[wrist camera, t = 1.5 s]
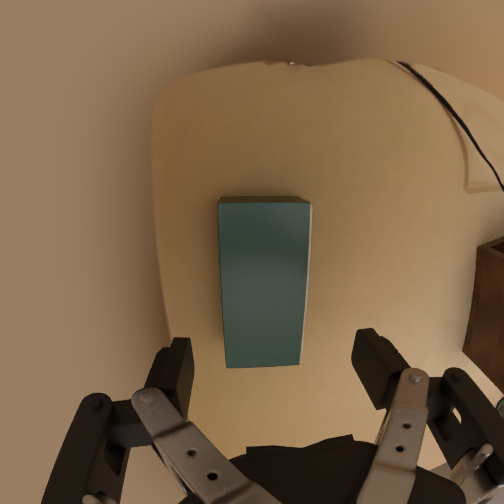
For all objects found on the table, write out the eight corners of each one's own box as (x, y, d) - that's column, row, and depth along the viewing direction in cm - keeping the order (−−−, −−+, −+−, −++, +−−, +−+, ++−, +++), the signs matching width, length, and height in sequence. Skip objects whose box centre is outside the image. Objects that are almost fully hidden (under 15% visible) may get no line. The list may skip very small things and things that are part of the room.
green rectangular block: (220, 196, 20) (217, 203, 16) (300, 196, 20) (313, 202, 16) (227, 342, 23) (226, 368, 20) (293, 339, 23) (301, 364, 20)
